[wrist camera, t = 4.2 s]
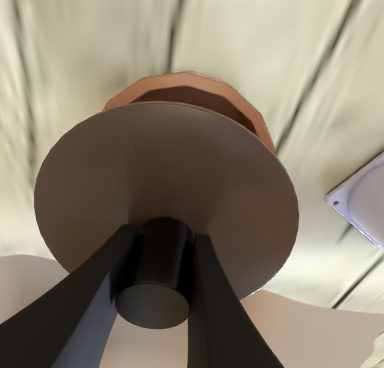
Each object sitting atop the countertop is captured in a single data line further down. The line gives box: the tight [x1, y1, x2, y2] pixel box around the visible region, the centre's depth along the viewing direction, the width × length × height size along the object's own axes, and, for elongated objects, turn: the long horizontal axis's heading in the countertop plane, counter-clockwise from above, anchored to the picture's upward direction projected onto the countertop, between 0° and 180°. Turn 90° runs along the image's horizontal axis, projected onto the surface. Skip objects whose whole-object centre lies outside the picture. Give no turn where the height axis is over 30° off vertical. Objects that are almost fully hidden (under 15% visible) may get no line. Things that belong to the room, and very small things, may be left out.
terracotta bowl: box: [102, 71, 276, 154], centre depth 16 cm, size 11×11×6 cm
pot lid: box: [34, 101, 299, 329], centre depth 9 cm, size 12×12×4 cm
